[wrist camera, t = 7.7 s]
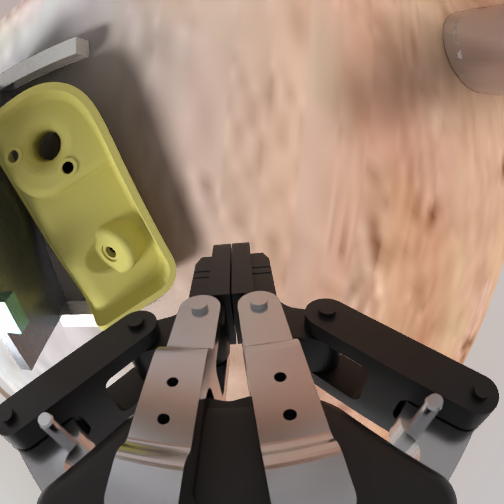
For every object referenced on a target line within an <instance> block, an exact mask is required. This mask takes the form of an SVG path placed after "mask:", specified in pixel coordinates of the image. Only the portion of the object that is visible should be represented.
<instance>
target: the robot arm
mask: <svg viewBox="0 0 504 504" xmlns="http://www.w3.org/2000/svg"><path fill="white" fill-rule="evenodd" d="M443 41H444V46H445V50H446V53H447V56H448V59H449V61H450V63H451V66H452V68H453V69H454V71H455V73H456V74H457V76H458V77H459V78H460V80H461V81H462V82H463V83H464V84H465V85H466V86H467V87H468V88H470V89H472V90H473V91H476V92H479V93H486V94H494V95H501V96H504V5H499V6H491V7H484V8H478V9H472V10H467V11H462V12H457V13H454V14H451V15H450V16H449V17H448V18H447V19H446V21H445V24H444V29H443ZM236 332H237V340H238V344H242V347H243V356H244V363H245V370H246V377H247V383H248V390H249V397H246V398H242V399H238V400H235V401H226V393H227V383H228V373H229V363H230V360H229V353H230V344H236ZM342 354H343V355H342ZM345 356H346V357H345ZM347 357H348V358H347ZM350 359H351V360H350ZM352 360H353V361H352ZM354 361H355V362H356V363H355V362H354ZM131 362H133V364H134V366H135V367H134V368H133V369H131V370H130V371H129V372H127V373H126V374H125V375H124V376H122V377H121V378H120V379H118V380H117V381H116V382H115V383H113V384H112V385H111V386H109V387H108V388H106V383H107V381H108V380H109V379H110V378H111V377H112V376H114V375H115V374H116V373H118V372H119V371H120V370H122V369H123V368H124V367H125V366H127V365H128V364H129V363H131ZM357 363H358V364H357ZM359 364H360V365H359ZM315 384H316V385H317V386H319V387H320V388H322V389H323V390H324V391H326V392H327V393H329V394H330V395H332V396H333V397H335V398H336V399H338V400H339V401H341V402H342V403H344V404H345V405H347V406H349V407H350V408H352V409H353V410H355V411H356V412H358V413H359V414H361V415H363V416H364V417H366V418H367V419H369V420H371V421H372V422H374V423H375V424H377V425H379V426H380V427H382V428H384V429H385V430H387V431H388V432H389V440H390V443H389V442H388V441H386V440H385V439H383V438H382V437H380V436H379V435H377V434H376V433H374V432H373V431H371V430H370V429H368V428H367V427H365V426H364V425H362V424H361V423H360V422H358V421H357V420H355V419H354V418H352V417H351V416H350V415H348V414H347V413H345V412H344V411H342V410H341V409H339V408H338V407H336V406H334V405H332V404H329V403H327V402H324V401H321V400H320V399H319V396H318V393H317V390H316V387H315ZM498 401H499V393H498V390H497V387H496V385H495V384H494V382H493V381H492V380H491V379H489V378H488V377H486V376H484V375H482V374H480V373H478V372H476V371H474V370H472V369H470V368H468V367H466V366H464V365H462V364H460V363H458V362H456V361H454V360H452V359H451V358H449V357H447V356H445V355H443V354H441V353H439V352H437V351H435V350H433V349H431V348H429V347H427V346H425V345H423V344H421V343H419V342H417V341H415V340H413V339H411V338H409V337H407V336H405V335H403V334H401V333H399V332H397V331H396V330H394V329H392V328H390V327H388V326H386V325H384V324H382V323H380V322H378V321H376V320H374V319H372V318H370V317H368V316H366V315H364V314H362V313H360V312H358V311H356V310H354V309H353V308H351V307H349V306H347V305H345V304H343V303H341V302H339V301H336V300H333V299H318V300H315V301H312V302H311V303H309V304H308V305H307V307H306V309H297V308H292V307H289V306H286V305H284V304H283V303H281V302H280V300H279V298H278V297H277V296H276V291H275V286H274V281H273V276H272V271H271V267H270V261H269V258H268V257H267V256H266V255H264V254H263V253H254V254H250V245H249V242H247V243H234V244H232V248H231V244H222V245H214V246H213V253H212V257H202V258H201V259H200V260H199V261H198V263H197V264H196V266H195V271H194V275H193V280H192V285H191V290H190V295H189V298H188V299H187V300H185V301H184V302H183V303H182V304H181V305H180V307H179V310H178V313H177V314H176V315H174V316H171V317H168V318H164V319H160V320H157V319H156V317H155V315H154V314H152V313H151V312H148V311H135V312H132V313H129V314H127V315H126V316H124V317H123V318H121V319H120V320H118V321H117V322H115V323H114V324H113V325H111V326H110V327H108V328H107V329H105V330H104V331H102V332H101V333H100V334H98V335H97V336H95V337H94V338H92V339H91V340H89V341H88V342H87V343H85V344H84V345H82V346H81V347H79V348H78V349H77V350H75V351H74V352H72V353H71V354H70V355H68V356H67V357H65V358H64V359H62V360H61V361H60V362H58V363H57V364H55V365H54V366H53V367H51V368H50V369H48V370H47V371H46V372H44V373H43V374H41V375H40V376H39V377H37V378H36V379H34V380H33V381H32V382H30V383H29V384H27V385H26V386H25V387H23V388H22V389H21V390H19V391H18V392H16V393H15V394H14V395H12V396H11V397H10V398H8V399H7V400H6V401H4V402H3V403H2V404H0V435H1V436H3V437H4V438H5V439H6V440H7V441H8V442H9V443H11V444H12V446H13V447H14V448H15V449H17V450H18V451H19V452H20V454H21V456H22V458H23V460H24V462H25V464H26V465H27V467H28V469H29V471H30V473H31V474H32V476H33V478H34V480H35V481H36V483H37V485H38V486H39V488H40V490H41V491H42V493H41V495H40V497H39V498H38V501H37V504H457V499H456V495H455V492H454V490H453V487H452V486H451V484H450V483H449V479H450V477H451V475H452V473H453V472H454V470H455V468H456V466H457V464H458V462H459V460H460V458H461V456H462V454H463V452H464V450H465V448H466V446H467V444H468V442H469V440H470V438H471V435H472V433H473V432H474V431H475V430H476V429H477V428H478V426H479V425H480V424H481V423H482V422H483V421H484V420H485V419H486V418H487V417H488V416H489V414H490V413H491V412H492V411H493V410H494V409H495V408H496V406H497V404H498Z"/></svg>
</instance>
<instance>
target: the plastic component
mask: <svg viewBox="0 0 504 504" xmlns="http://www.w3.org/2000/svg"><path fill="white" fill-rule="evenodd" d="M53 132H56V133H57V134H58V135H59V137H60V139H61V148H60V151H59V153H58V155H57V156H56V157H55V158H54V159H53V160H47V159H45V158H44V157H43V156H42V155H41V153H40V144H41V141H42V139H43V138H44V136H46V135H47V134H49V133H53ZM14 150H16V151H17V152H18V159H17V161H16V162H15V160H14V158H13V156H12V153H11V152H13V151H14ZM65 162H71V163H72V164H73V166H74V168H73V171H72V172H71V173H69V174H67V173H65V172H64V171H63V165H64V163H65ZM0 165H1V167H2V169H3V170H4V172H5V174H6V175H7V177H8V178H9V180H10V182H11V183H12V185H13V187H14V188H15V190H16V192H17V193H18V195H19V196H20V198H21V200H22V201H23V203H24V205H25V206H26V208H27V210H28V211H29V213H30V215H31V216H32V218H33V220H34V221H35V223H36V225H37V226H38V228H39V229H40V231H41V233H42V234H43V236H44V238H45V239H46V241H47V242H48V244H49V246H50V247H51V249H52V250H53V252H54V253H55V255H56V256H57V258H58V259H59V261H60V262H61V264H62V265H63V267H64V268H65V270H66V271H67V273H68V274H69V275H70V277H71V278H72V280H73V281H74V282H75V284H76V285H77V286H78V288H79V289H80V291H81V292H82V294H83V296H84V297H85V299H86V301H87V302H88V304H89V307H90V309H91V312H92V314H93V317H94V320H95V322H96V324H97V326H98V327H99V328H100V329H101V330H105V329H107V328H108V327H110V326H111V325H113V324H114V323H115V322H117V321H118V320H120V319H121V318H123V317H124V316H126V315H127V314H129V313H132V312H135V311H139V310H141V309H142V308H144V307H145V306H147V305H148V304H150V303H151V302H153V301H154V300H156V299H158V298H159V297H161V296H162V295H164V294H165V293H166V292H167V291H168V290H169V289H170V287H171V286H172V284H173V283H174V280H175V277H176V264H175V260H174V258H173V256H172V254H171V253H170V251H169V249H168V247H167V246H166V244H165V242H164V240H163V238H162V236H161V235H160V233H159V231H158V229H157V227H156V225H155V223H154V222H153V220H152V218H151V216H150V214H149V212H148V210H147V208H146V206H145V204H144V202H143V200H142V198H141V197H140V195H139V193H138V191H137V189H136V187H135V185H134V183H133V181H132V179H131V177H130V174H129V172H128V170H127V168H126V166H125V164H124V162H123V160H122V158H121V156H120V154H119V151H118V149H117V147H116V145H115V143H114V141H113V139H112V137H111V135H110V133H109V130H108V128H107V126H106V124H105V122H104V120H103V119H102V117H101V115H100V113H99V111H98V110H97V108H96V107H95V105H94V104H93V102H92V101H91V100H90V99H89V98H88V96H87V95H86V94H84V93H83V92H82V91H81V90H79V89H78V88H76V87H74V86H72V85H69V84H66V83H61V82H47V83H42V84H38V85H35V86H33V87H31V88H29V89H27V90H25V91H23V92H22V93H20V94H18V95H17V96H16V97H14V98H13V99H11V100H10V101H9V102H7V103H6V104H5V105H3V106H2V107H1V108H0ZM109 247H111V248H112V249H113V250H114V251H115V253H114V252H112V251H111V250H110V248H109Z"/></svg>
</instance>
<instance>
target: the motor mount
mask: <svg viewBox="0 0 504 504" xmlns="http://www.w3.org/2000/svg"><path fill="white" fill-rule="evenodd" d="M88 57H90V54H89V41H86V40H84V39H81V38H78V37H73V38H71V39H69V40H66V41H64V42H61V43H59V44H57V45H55V46H52V47H50V48H48V49H46V50H44V51H42V52H40V53H38V54H36V55H34V56H32V57H30V58H28V59H26V60H24V61H22V62H20V63H18V64H17V65H15V66H13V67H11V68H10V69H8V70H6V71H5V72H3V73H1V74H0V108H1V107H2V106H3V105H5V104H6V103H7V102H9V101H10V100H11V99H13V98H14V89H16V88H18V87H20V86H22V85H24V84H26V83H28V82H30V81H32V80H34V79H36V78H38V77H41V76H43V75H45V74H47V73H50V72H52V71H54V70H57V69H59V68H61V67H64V66H66V65H69V64H72V63H74V62H77V61H80V60H82V59H85V58H88ZM11 153H12V156H13V158H14V160H15V162H16V161H17V159H18V152H17V151H16V150H14V151H13V152H11ZM139 311H140V310H139ZM59 320H61V322H62V324H63V326H97V324H96V322H95V320H94V317H93V314H92V312H91V309H90V307H89V304H88V302H87V301H86V300H83V301H67V300H66V298H65V296H64V294H63V291H62V289H61V287H60V284H59V282H58V279H57V277H56V274H55V272H54V269H53V267H52V264H51V261H50V259H49V256H48V253H47V250H46V247H45V244H44V241H43V238H42V235H41V232H40V229H39V228H38V226H37V225H36V223H35V221H34V220H33V218H32V216H31V215H30V213H29V211H28V210H27V208H26V206H25V205H24V203H23V201H22V200H21V198H20V196H19V195H18V193H17V192H16V190H15V188H14V187H13V185H12V183H11V182H10V180H9V178H8V177H7V175H6V174H5V172H4V170H3V169H2V167H1V165H0V338H1V339H2V341H3V343H4V344H5V346H6V347H7V349H8V350H9V352H10V353H11V355H12V356H13V358H14V359H15V361H16V362H17V364H18V365H19V366H20V368H21V369H25V370H31V371H32V369H33V367H34V365H35V363H36V361H37V359H38V357H39V355H40V353H41V351H42V350H43V348H44V346H45V344H46V342H47V340H48V339H49V337H50V335H51V333H52V332H53V330H54V328H55V326H56V325H57V323H58V321H59Z"/></svg>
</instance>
